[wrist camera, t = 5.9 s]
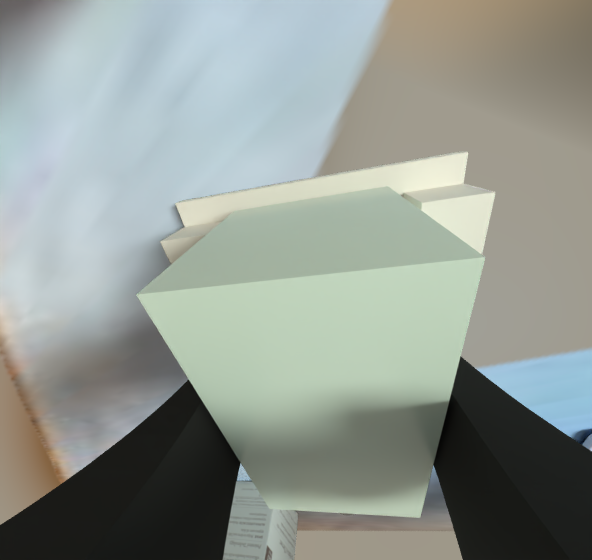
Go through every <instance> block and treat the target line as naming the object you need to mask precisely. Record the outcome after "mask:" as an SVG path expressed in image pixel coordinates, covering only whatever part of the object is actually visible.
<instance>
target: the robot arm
mask: <svg viewBox="0 0 592 560" xmlns="http://www.w3.org/2000/svg"><path fill="white" fill-rule="evenodd" d="M240 463H241V462H240V461H239V459H238V458H237V456H236V454H235V453H234V451H233V450H232V448H231V446H230V445H229V443H228V442H227V440H226V438H225V437H224V435H223V434H222V432H221V430H220V429H219V427H218V425H217V424H216V422H215V421H214V419H213V417H212V416H211V414H210V413H209V411H208V409H207V408H206V406H205V405H204V403H203V401H202V400H201V398H200V397H199V395H198V393H197V392H196V390H195V389H194V387H193V385H192V384H191V382H190V381H189V380H188V381H187V382H186V383H185V384H184V385H183V386H182V387H181V388H180V389H179V390H178V391H176V392H175V393H174V394H173V395H172V396H171V397H170V398H169V399H168V400H167V401H166V402H165V403H164V404H163V405H162V406H160V407H159V408H158V409H157V410H156V411H155V412H154V413H153V414H151V415H150V416H149V417H148V418H147V419H145V420H144V421H143V422H142V423H141V424H140V425H138V426H137V427H136V428H135V429H134V430H132V431H131V432H130V433H129V434H127V435H126V436H125V437H124V438H122V439H121V440H120V441H118V442H117V443H116V444H115V445H113V446H112V447H111V448H109V449H108V450H107V451H105V452H104V453H103V454H102V455H100V456H99V457H98V458H96V459H95V460H94V461H92V462H91V463H90V464H89V465H87V466H86V467H84V468H83V469H82V470H80V471H79V472H78V473H76V474H75V475H73V476H72V477H71V478H69V479H68V480H66V481H65V482H64V483H62V484H61V485H59V486H58V487H56V488H55V489H53V490H52V491H51V492H49V493H48V494H46V495H45V496H43V497H42V498H40V499H39V500H38V501H36V502H35V503H33V504H32V505H30V506H29V507H27V508H26V509H24V510H23V511H21V512H20V513H18V514H17V515H15V516H14V517H12V518H11V519H9V520H7V521H6V522H4V523H3V524H1V525H0V560H223V555H224V549H225V543H226V537H227V531H228V525H229V519H230V513H231V508H232V502H233V497H234V492H235V486H236V481H237V476H238V471H239V467H240ZM433 465H434V467H435V470H436V473H437V476H438V479H439V482H440V485H441V488H442V492H443V495H444V498H445V501H446V505H447V508H448V511H449V514H450V518H451V521H452V524H453V528H454V531H455V534H456V538H457V541H458V544H459V548H460V551H461V555H462V558H463V560H592V434H591V435H589V436H588V438H587V439H586V440H585V442H584V443H583V444H582V445H581V444H580V443H578V442H577V441H575V440H573V439H572V438H570V437H569V436H567V435H566V434H564V433H563V432H561V431H560V430H559V429H557V428H556V427H554V426H553V425H551V424H550V423H548V422H547V421H545V420H544V419H542V418H541V417H540V416H538V415H537V414H535V413H534V412H532V411H531V410H529V409H528V408H526V407H525V406H524V405H522V404H521V403H519V402H518V401H517V400H515V399H514V398H513V397H511V396H510V395H509V394H507V393H506V392H505V391H503V390H502V389H501V388H499V387H498V386H497V385H496V384H494V383H493V382H492V381H490V380H489V379H488V378H486V377H485V376H484V375H483V374H481V373H480V372H479V371H478V370H476V369H475V368H474V367H473V366H472V365H470V364H469V363H468V362H467V361H466V360H464V359H463V358H462V357H461V356H460V360H459V364H458V368H457V372H456V376H455V380H454V384H453V388H452V392H451V396H450V400H449V404H448V408H447V412H446V416H445V420H444V424H443V428H442V432H441V436H440V440H439V444H438V448H437V452H436V456H435V460H434V464H433Z"/></svg>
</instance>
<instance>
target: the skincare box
mask: <svg viewBox="0 0 592 560" xmlns="http://www.w3.org/2000/svg"><path fill="white" fill-rule="evenodd" d="M297 524H298V514H297V513H296V511H295V510H280V509H269V507H268V506H267V504H266V503H265V501H264V499H263V498H262V496H261V495H260V493H259V491H258V490H257V488H256V487H255V485H254V483H253V482H250V481H236V486H235V492H234V497H233V502H232V508H231V513H230V519H229V525H228V531H227V537H226V543H225V549H224V555H223V560H294V555H295V545H296V534H297Z"/></svg>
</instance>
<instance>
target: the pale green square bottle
mask: <svg viewBox="0 0 592 560" xmlns="http://www.w3.org/2000/svg"><path fill="white" fill-rule="evenodd" d="M484 260H485V256H483V255H482V254H480V253H479V252H478V251H476V250H475V249H474V248H472V247H471V246H469V245H468V244H467V243H465V242H464V241H463V240H461V239H460V238H458V237H457V236H456V235H454V234H453V233H452V232H450V231H449V230H447V229H446V228H445V227H443V226H442V225H441V224H439V223H438V222H436V221H435V220H434V219H432V218H431V217H430V216H428V215H427V214H425V213H424V212H423V211H421V210H420V209H419V208H417V207H416V206H414V205H413V204H412V203H410V202H409V201H408V200H406V199H405V198H403V197H402V196H401V195H399V194H398V193H397V192H395V191H394V190H392V189H391V188H390V187H388V186H385V187H379V188H373V189H367V190H361V191H355V192H348V193H342V194H336V195H330V196H324V197H318V198H311V199H305V200H299V201H293V202H287V203H281V204H274V205H268V206H262V207H256V208H250V209H244V210H237V211H234V212H232V213H231V214H230V215H229V216H228V217H227V218H225V219H224V220H223V221H222V222H221V223H219V224H218V225H217V226H216V227H215V228H214V229H212V230H211V231H210V232H209V233H208V234H207V235H205V236H204V237H203V238H202V239H201V240H200V241H198V242H197V243H196V244H195V245H194V246H193V247H191V248H190V249H189V250H188V251H187V252H185V253H184V254H183V255H182V256H181V257H180V258H178V259H177V260H176V261H175V262H174V263H173V264H171V265H170V266H169V267H168V268H167V269H166V270H164V271H163V272H162V273H161V274H160V275H159V276H157V277H156V278H155V279H154V280H153V281H152V282H150V283H149V284H148V285H147V286H146V287H144V288H143V289H142V290H141V291H140V292H139V293H137V294H136V295H137V297H138V299H139V300H140V302H141V303H142V305H143V307H144V308H145V310H146V311H147V313H148V315H149V316H150V318H151V319H152V321H153V323H154V324H155V326H156V327H157V329H158V331H159V332H160V334H161V336H162V337H163V339H164V340H165V342H166V344H167V345H168V347H169V348H170V350H171V352H172V353H173V355H174V356H175V358H176V360H177V361H178V363H179V364H180V366H181V368H182V369H183V371H184V372H185V374H186V376H187V377H188V379H189V381H190V382H191V384H192V385H193V387H194V389H195V390H196V392H197V393H198V395H199V397H200V398H201V400H202V401H203V403H204V405H205V406H206V408H207V409H208V411H209V413H210V414H211V416H212V417H213V419H214V421H215V422H216V424H217V425H218V427H219V429H220V430H221V432H222V434H223V435H224V437H225V438H226V440H227V442H228V443H229V445H230V446H231V448H232V450H233V451H234V453H235V454H236V456H237V458H238V459H239V461H240V462H241V464H242V466H243V467H244V469H245V470H246V472H247V474H248V475H249V477H250V479H251V480H252V482H253V483H254V485H255V487H256V488H257V490H258V491H259V493H260V495H261V496H262V498H263V499H264V501H265V503H266V504H267V506H268V507H269V509H280V510H297V511H314V512H331V513H340V514H343V515H353V514H366V515H383V516H400V517H417V518H420V516H421V512H422V508H423V504H424V500H425V496H426V492H427V488H428V484H429V480H430V476H431V472H432V468H433V464H434V460H435V456H436V452H437V448H438V444H439V440H440V436H441V432H442V428H443V424H444V420H445V416H446V412H447V408H448V404H449V400H450V396H451V392H452V388H453V384H454V380H455V376H456V372H457V368H458V364H459V360H460V356H461V352H462V348H463V344H464V340H465V336H466V332H467V328H468V324H469V320H470V316H471V312H472V308H473V304H474V300H475V296H476V292H477V288H478V284H479V280H480V276H481V272H482V268H483V264H484Z"/></svg>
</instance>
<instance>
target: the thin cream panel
mask: <svg viewBox="0 0 592 560" xmlns="http://www.w3.org/2000/svg"><path fill="white" fill-rule="evenodd" d="M467 157H468V152H454V153H449V154H443V155H437V156H432V157H426V158H420V159H415V160H409V161H404V162H398V163H393V164H386V165H381V166H375V167H369V168H364V169H358V170H353V171H347V172H342V173H336V174H330V175H324V176H319V177H313V178H307V179H302V180H296V181H290V182H285V183H279V184H273V185H268V186H262V187H256V188H251V189H245V190H239V191H234V192H228V193H222V194H217V195H211V196H205V197H200V198H194V199H188V200H183V201H180V202H178V203H175V204H176V207H177V209H178V212H179V214H180V216H181V219H182V221H183V224H184V226H185V227H184V228H182V229H180V230H179V231H177V232H175V233H174V234H172V235H170V236H169V237H167V238H165V239H163V240H162V241H160V242H161V244H162V246H163V249H164V251H165V253H166V255H167V257H168V259H169V261H170V263H171V264H173V263H174V262H175V261H176V260H177V259H178V258H180V257H181V256H182V255H183V254H184V253H185V252H187V251H188V250H189V249H190V248H191V247H193V246H194V245H195V244H196V243H197V242H198V241H200V240H201V239H202V238H203V237H204V236H205V235H207V234H208V233H209V232H210V231H211V230H212V229H214V228H215V227H216V226H217V225H218V224H219V223H221V222H222V221H223V220H224V219H225V218H227V217H228V216H229V215H230V214H231V213H232V212H234V211H237V210H244V209H250V208H256V207H262V206H268V205H274V204H281V203H287V202H293V201H299V200H305V199H311V198H318V197H324V196H330V195H336V194H342V193H348V192H355V191H361V190H367V189H373V188H379V187H385V186H388V187H390V188H391V189H392V190H394V191H395V192H397V193H398V194H399V195H401V196H402V197H403V198H405V199H406V200H408V201H409V202H410V203H412V204H413V205H414V206H416V207H417V208H419V209H420V210H421V211H423V212H424V213H425V214H427V215H428V216H430V217H431V218H432V219H434V220H435V221H436V222H438V223H439V224H441V225H442V226H443V227H445V228H446V229H447V230H449V231H450V232H452V233H453V234H454V235H456V236H457V237H458V238H460V239H461V240H463V241H464V242H465V243H467V244H468V245H469V246H471V247H472V248H474V249H475V250H476V251H478V252H479V253H480V254H482V251H483V247H484V242H485V238H486V233H487V228H488V224H489V220H490V215H491V211H492V206H493V201H494V197H495V192H494V191H490V190H486V189H483V188H479V187H475V186H471V185H467V184H464V183H463V182H464V176H465V169H466V163H467Z"/></svg>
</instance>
